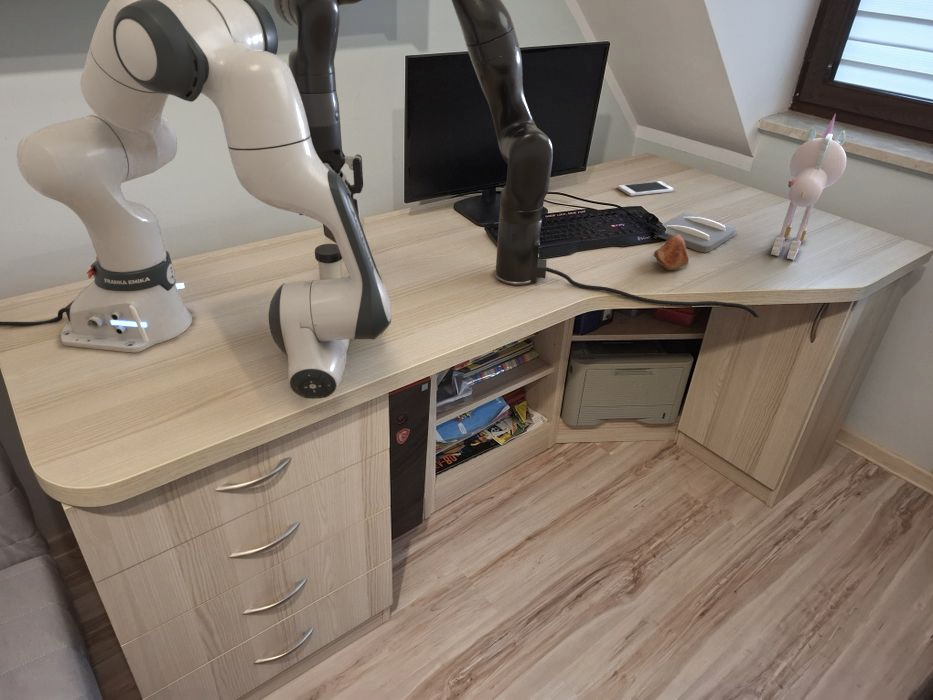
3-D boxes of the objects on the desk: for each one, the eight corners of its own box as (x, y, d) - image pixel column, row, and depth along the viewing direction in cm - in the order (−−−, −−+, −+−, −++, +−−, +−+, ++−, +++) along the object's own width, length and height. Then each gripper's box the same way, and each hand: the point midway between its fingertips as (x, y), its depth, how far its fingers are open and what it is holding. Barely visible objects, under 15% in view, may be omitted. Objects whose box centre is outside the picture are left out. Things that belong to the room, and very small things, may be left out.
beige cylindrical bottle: (341, 317, 128) (334, 245, 119) (349, 326, 125) (343, 253, 116) (321, 322, 126) (313, 249, 117) (329, 331, 123) (322, 258, 114)
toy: (826, 222, 178) (867, 110, 161) (806, 269, 152) (852, 142, 135) (779, 212, 183) (814, 103, 167) (751, 256, 157) (789, 132, 141)
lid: (336, 249, 120) (336, 241, 119) (347, 259, 117) (347, 251, 116) (311, 255, 118) (310, 246, 117) (321, 265, 114) (320, 257, 113)
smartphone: (617, 188, 196) (618, 185, 196) (659, 183, 201) (660, 180, 200) (630, 196, 191) (630, 193, 190) (673, 191, 196) (674, 188, 195)
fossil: (662, 265, 143) (667, 221, 144) (634, 267, 151) (640, 225, 151) (699, 275, 150) (704, 233, 150) (671, 277, 157) (676, 237, 157)
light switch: (708, 241, 156) (653, 223, 165) (705, 253, 158) (650, 234, 167) (740, 223, 167) (687, 206, 176) (737, 234, 169) (684, 217, 178)
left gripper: (384, 315, 110) (387, 278, 121) (263, 316, 108) (277, 278, 120) (385, 346, 113) (388, 307, 125) (268, 347, 112) (282, 307, 123)
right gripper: (363, 114, 107) (368, 207, 116) (277, 111, 107) (289, 205, 116) (357, 126, 101) (362, 224, 110) (266, 122, 100) (279, 221, 109)
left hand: (333, 293), depth 122 cm, fingers closed on beige cylindrical bottle, 4 cm apart
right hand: (325, 214), depth 113 cm, fingers open, 7 cm apart
